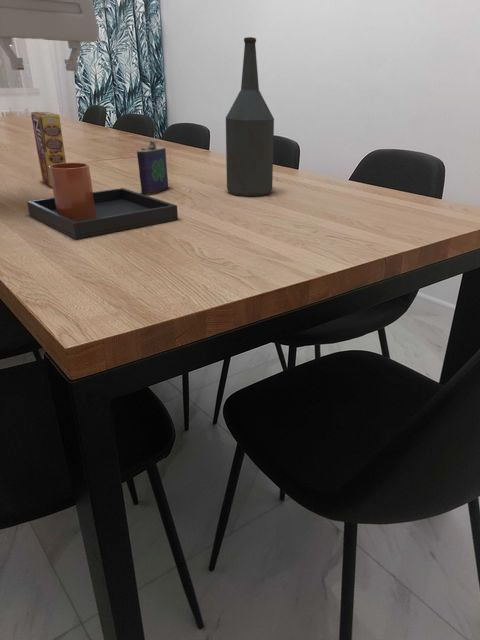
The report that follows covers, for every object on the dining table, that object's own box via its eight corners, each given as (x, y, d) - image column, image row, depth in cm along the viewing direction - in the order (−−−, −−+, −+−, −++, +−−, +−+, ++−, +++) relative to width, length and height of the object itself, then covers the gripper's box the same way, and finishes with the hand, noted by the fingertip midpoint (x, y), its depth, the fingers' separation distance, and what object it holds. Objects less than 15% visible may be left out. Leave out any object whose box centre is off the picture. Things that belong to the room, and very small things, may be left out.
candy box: (71, 186, 116) (59, 113, 109) (52, 188, 114) (39, 114, 107) (60, 180, 123) (48, 111, 115) (42, 181, 120) (28, 111, 113)
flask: (161, 186, 118) (157, 137, 112) (172, 188, 117) (169, 138, 111) (138, 194, 110) (133, 142, 105) (149, 195, 109) (145, 143, 104)
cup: (68, 225, 85) (58, 170, 81) (52, 218, 89) (42, 164, 85) (102, 219, 89) (95, 166, 85) (86, 212, 93) (78, 161, 89)
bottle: (264, 186, 120) (267, 39, 105) (277, 195, 111) (282, 36, 97) (222, 188, 117) (219, 37, 102) (232, 197, 109) (230, 34, 94)
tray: (76, 239, 80) (73, 223, 79) (29, 215, 93) (26, 201, 92) (178, 219, 92) (177, 205, 91) (124, 200, 105) (123, 187, 103)
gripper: (82, -18, 89) (93, 71, 96) (-45, -34, 77) (-22, 69, 84) (98, -22, 85) (109, 71, 92) (-33, -40, 73) (-10, 69, 80)
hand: (46, 70), depth 88 cm, fingers open, 8 cm apart
